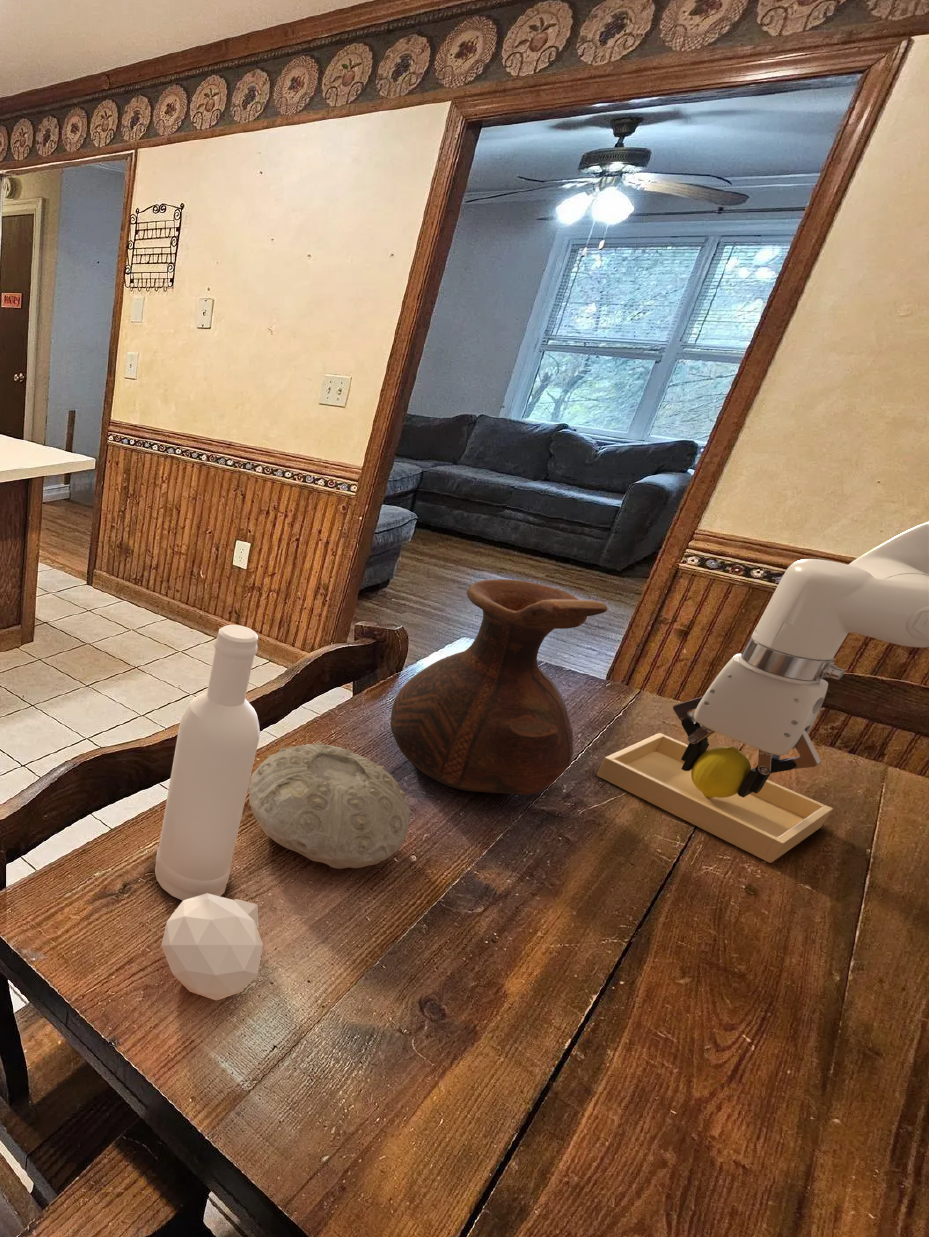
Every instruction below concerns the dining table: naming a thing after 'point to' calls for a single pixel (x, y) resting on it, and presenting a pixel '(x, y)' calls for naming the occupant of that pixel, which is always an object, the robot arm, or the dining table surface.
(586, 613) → the jug
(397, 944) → the dining table surface
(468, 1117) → the dining table surface
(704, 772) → the lemon
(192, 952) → the cream faceted rounded solid
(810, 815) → the tray
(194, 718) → the bottle
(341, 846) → the decorative shell
